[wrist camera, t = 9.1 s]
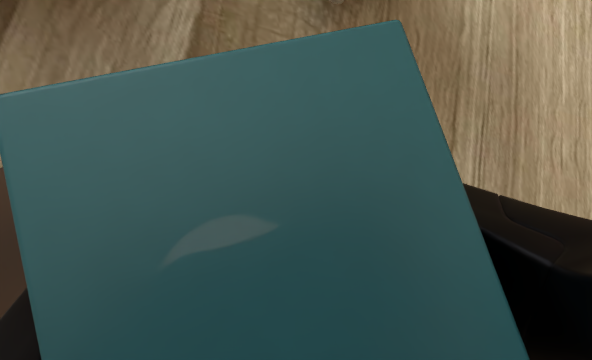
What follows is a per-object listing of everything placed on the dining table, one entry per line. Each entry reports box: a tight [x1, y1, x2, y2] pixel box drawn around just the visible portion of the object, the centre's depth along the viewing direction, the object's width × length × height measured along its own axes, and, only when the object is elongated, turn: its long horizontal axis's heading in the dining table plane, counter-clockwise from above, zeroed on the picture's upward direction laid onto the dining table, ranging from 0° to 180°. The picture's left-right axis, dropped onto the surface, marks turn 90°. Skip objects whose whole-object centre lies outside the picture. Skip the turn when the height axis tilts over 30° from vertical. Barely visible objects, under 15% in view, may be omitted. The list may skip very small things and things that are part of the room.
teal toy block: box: [0, 20, 530, 360], centre depth 9 cm, size 6×6×8 cm
